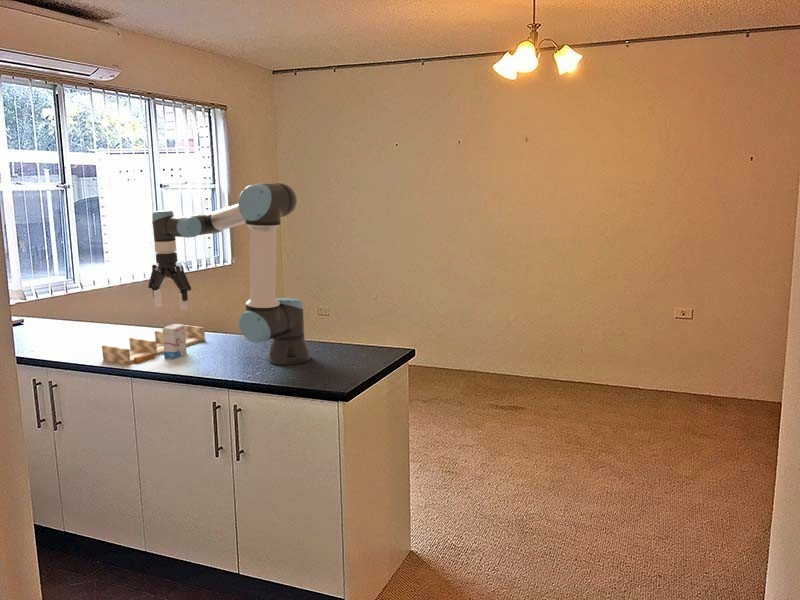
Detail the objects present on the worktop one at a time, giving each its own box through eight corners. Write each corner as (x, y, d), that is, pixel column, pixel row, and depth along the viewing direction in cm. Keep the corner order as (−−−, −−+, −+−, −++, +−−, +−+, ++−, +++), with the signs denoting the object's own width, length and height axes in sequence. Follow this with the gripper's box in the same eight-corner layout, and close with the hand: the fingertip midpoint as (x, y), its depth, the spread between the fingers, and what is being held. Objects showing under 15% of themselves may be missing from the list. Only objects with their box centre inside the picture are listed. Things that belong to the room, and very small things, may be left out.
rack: (208, 341, 280) (206, 327, 279) (131, 365, 247) (129, 350, 246) (181, 337, 288) (180, 324, 287) (103, 360, 255) (101, 345, 254)
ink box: (176, 359, 254) (173, 328, 252) (164, 358, 255) (161, 328, 253) (187, 353, 262) (185, 323, 260) (175, 352, 263) (173, 323, 261)
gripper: (198, 252, 249) (202, 308, 253) (150, 250, 261) (156, 303, 265) (182, 254, 242) (187, 312, 246) (134, 252, 254) (140, 307, 258)
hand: (171, 308), depth 255 cm, fingers open, 13 cm apart
